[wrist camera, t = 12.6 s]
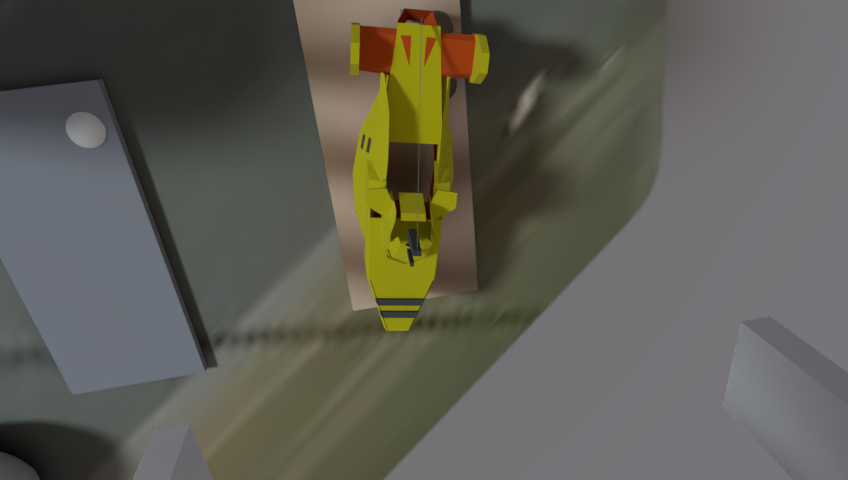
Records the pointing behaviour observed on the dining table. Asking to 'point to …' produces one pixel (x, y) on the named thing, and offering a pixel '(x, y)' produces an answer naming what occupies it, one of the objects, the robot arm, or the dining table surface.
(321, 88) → the pad two
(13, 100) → the pad one
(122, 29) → the dining table surface
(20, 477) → the decorative stone
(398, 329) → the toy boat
